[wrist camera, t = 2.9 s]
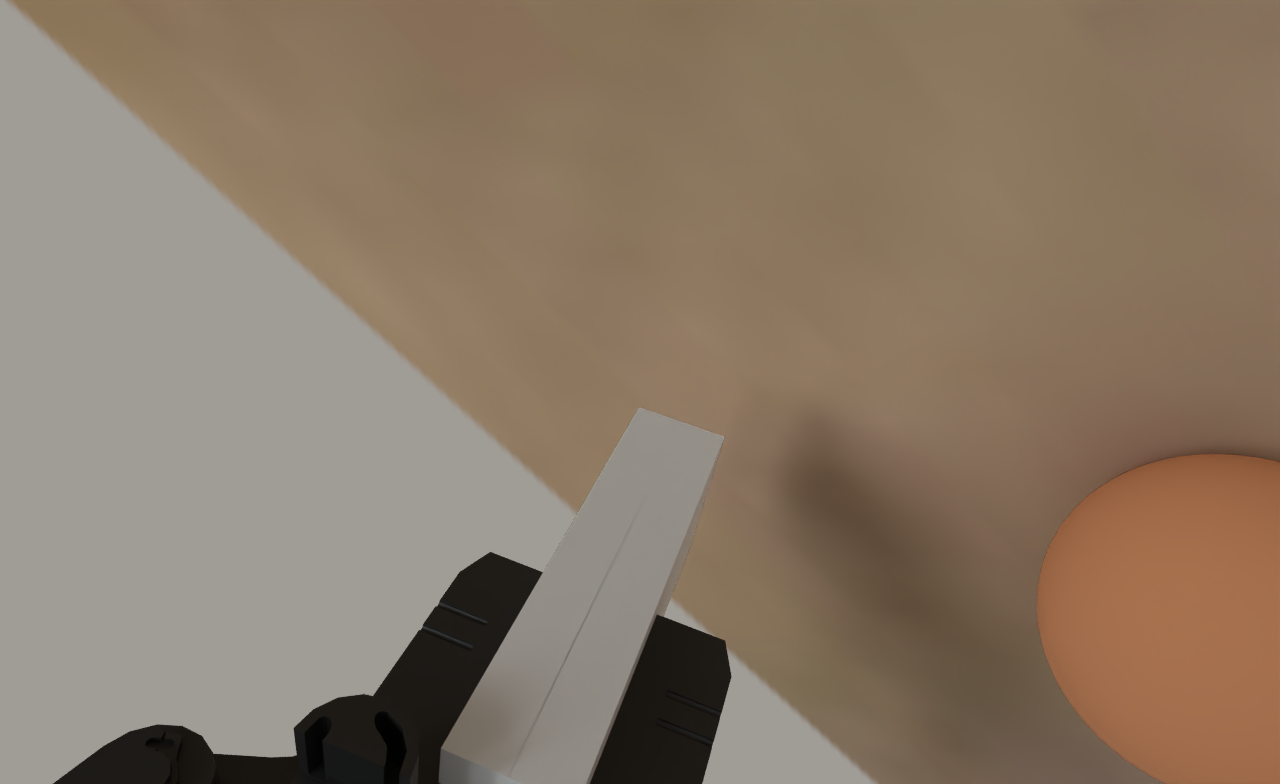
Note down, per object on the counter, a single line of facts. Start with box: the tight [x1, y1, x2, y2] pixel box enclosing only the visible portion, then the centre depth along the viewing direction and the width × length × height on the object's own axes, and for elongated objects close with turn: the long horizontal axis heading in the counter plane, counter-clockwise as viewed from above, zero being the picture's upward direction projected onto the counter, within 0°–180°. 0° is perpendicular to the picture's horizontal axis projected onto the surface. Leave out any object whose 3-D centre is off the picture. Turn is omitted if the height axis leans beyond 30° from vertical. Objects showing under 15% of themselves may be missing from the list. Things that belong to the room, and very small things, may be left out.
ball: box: [1037, 454, 1280, 784], centre depth 13 cm, size 6×6×6 cm
